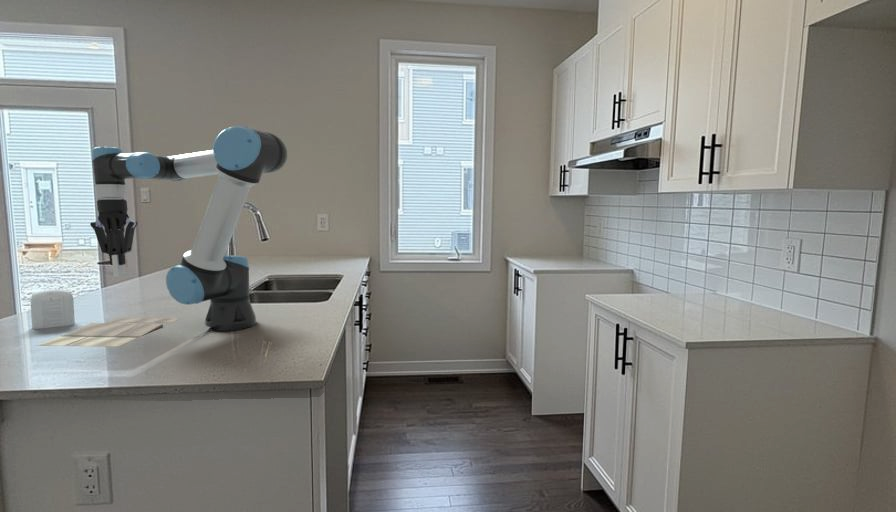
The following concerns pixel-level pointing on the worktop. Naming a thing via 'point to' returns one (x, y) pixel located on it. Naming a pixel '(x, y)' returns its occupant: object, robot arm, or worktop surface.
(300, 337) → the worktop surface
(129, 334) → the plank
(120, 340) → the light wood flat board
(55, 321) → the photo printer
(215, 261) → the robot arm
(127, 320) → the plank
